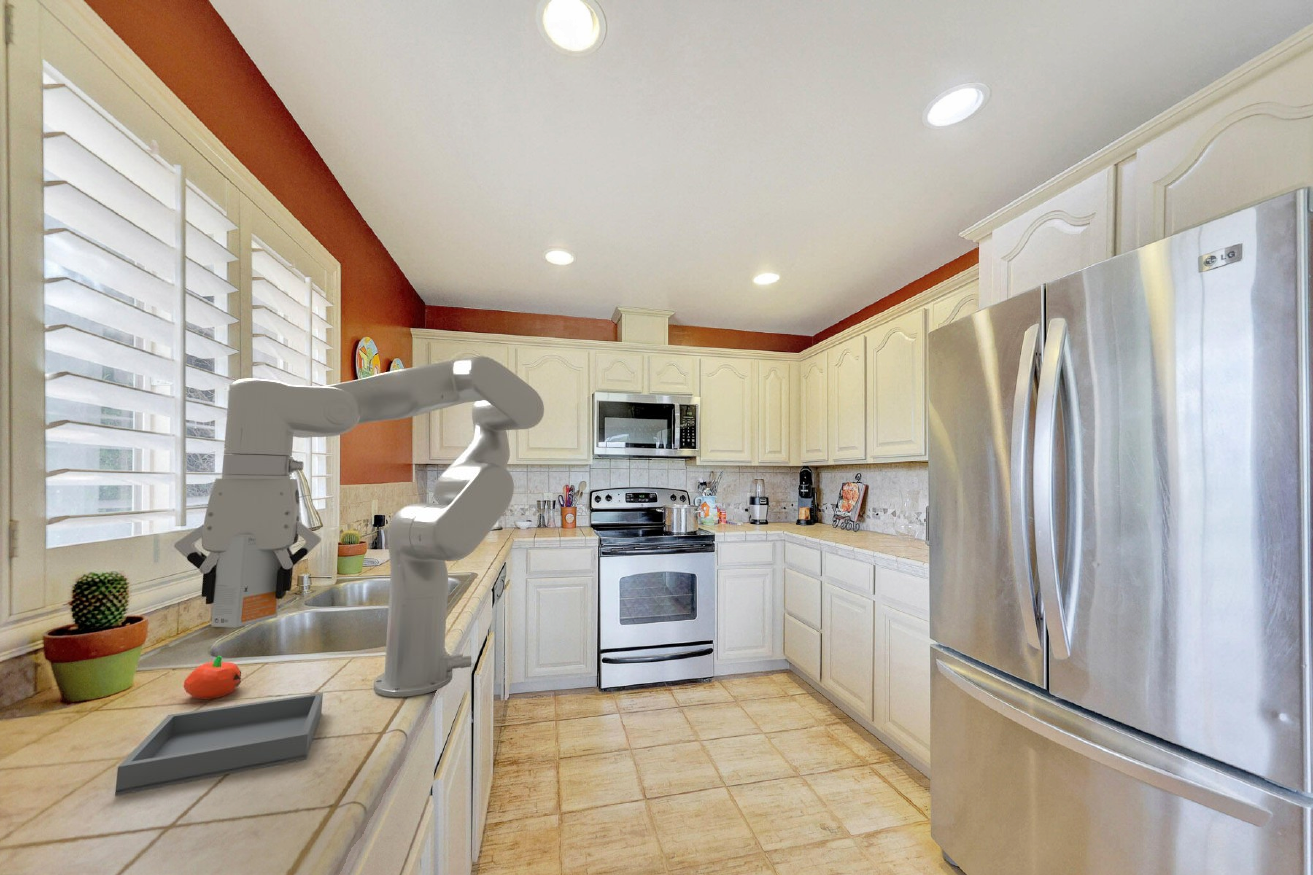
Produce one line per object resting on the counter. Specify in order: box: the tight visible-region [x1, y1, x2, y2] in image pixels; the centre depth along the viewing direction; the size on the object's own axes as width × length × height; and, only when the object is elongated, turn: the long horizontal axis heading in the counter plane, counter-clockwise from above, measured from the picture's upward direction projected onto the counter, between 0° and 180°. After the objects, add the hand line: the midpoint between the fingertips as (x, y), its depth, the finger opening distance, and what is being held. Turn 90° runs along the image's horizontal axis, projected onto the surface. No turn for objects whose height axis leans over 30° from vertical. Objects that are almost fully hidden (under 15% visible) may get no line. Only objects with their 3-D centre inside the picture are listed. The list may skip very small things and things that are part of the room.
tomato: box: [183, 655, 242, 700], centre depth 84 cm, size 7×8×6 cm
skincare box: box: [210, 534, 281, 629], centre depth 70 cm, size 6×4×12 cm
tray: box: [114, 692, 324, 797], centre depth 68 cm, size 18×14×3 cm
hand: (247, 598), depth 69 cm, fingers closed on skincare box, 6 cm apart
